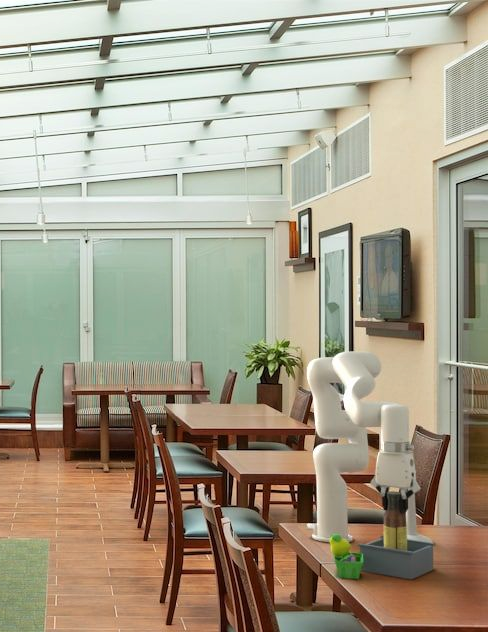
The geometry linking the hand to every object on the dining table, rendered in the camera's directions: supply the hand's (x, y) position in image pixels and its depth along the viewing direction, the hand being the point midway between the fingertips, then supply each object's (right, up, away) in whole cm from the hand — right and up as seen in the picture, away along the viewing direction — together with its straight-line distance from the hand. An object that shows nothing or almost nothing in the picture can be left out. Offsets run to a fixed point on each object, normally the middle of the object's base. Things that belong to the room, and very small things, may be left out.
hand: (395, 510), depth 276 cm
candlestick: (+20, -18, +36) cm, 45 cm away
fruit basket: (-16, -17, -5) cm, 24 cm away
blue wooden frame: (0, -17, -1) cm, 17 cm away
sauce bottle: (0, -15, 0) cm, 15 cm away
